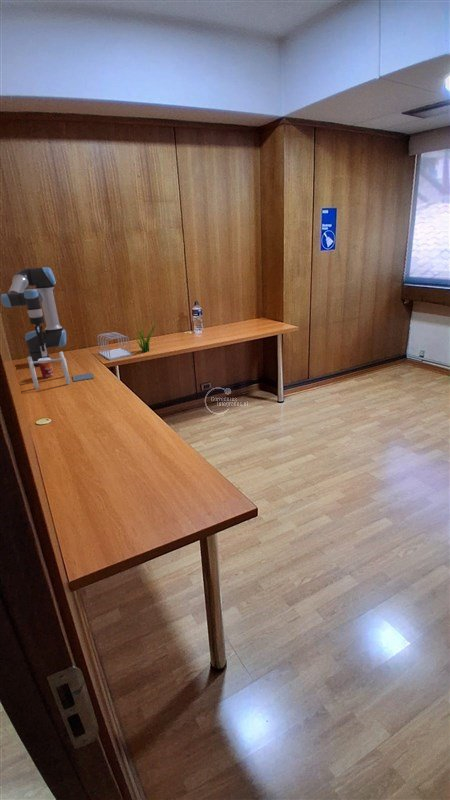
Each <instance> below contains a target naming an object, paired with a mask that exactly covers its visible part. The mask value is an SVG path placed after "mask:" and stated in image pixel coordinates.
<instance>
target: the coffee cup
mask: <svg viewBox="0 0 450 800" xmlns="http://www.w3.org/2000/svg"><path fill="white" fill-rule="evenodd" d="M50 358H51V357H50ZM50 358H48V357H47V358H41V359H38V361H42V360H51V359H52V358H51V359H50ZM38 367H39V369H40V372H41V375H42V379H51V378H53V377H54V376H55V374H54V370H53V364H52V362H43V363H39V366H38Z"/></svg>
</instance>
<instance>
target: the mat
mask: <svg viewBox="0 0 450 800" xmlns="http://www.w3.org/2000/svg"><path fill="white" fill-rule="evenodd" d="M93 379H95V377H94V374H93V372H89V373H82V374H76V375H72V380H73V383H75V382H81V381H87V380H93Z"/></svg>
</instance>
